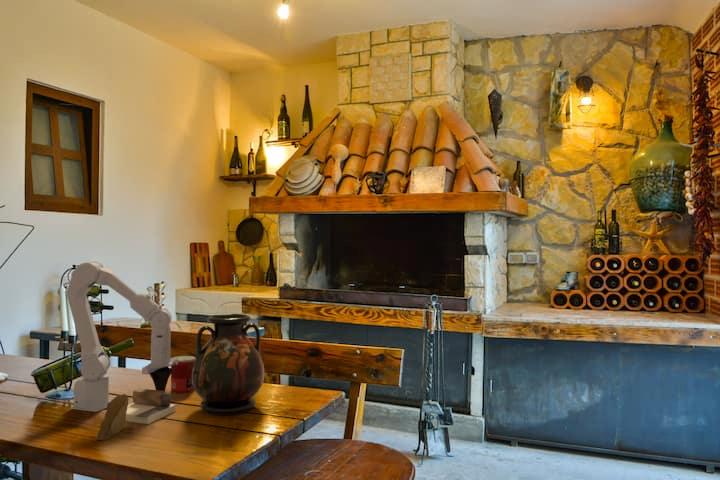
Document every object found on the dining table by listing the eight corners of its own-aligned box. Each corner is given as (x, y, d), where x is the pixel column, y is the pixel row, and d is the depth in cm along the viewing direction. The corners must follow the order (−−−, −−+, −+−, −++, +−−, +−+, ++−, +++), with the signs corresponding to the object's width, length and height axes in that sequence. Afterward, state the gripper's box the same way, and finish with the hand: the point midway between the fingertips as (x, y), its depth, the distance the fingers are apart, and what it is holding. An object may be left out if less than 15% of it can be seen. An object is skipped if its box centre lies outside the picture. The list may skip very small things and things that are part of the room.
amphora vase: (196, 423, 151) (197, 323, 151) (187, 402, 170) (188, 313, 171) (272, 414, 160) (272, 319, 160) (255, 395, 179) (255, 310, 179)
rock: (107, 435, 135) (141, 419, 143) (91, 405, 137) (126, 391, 145) (89, 453, 140) (123, 436, 148) (74, 424, 142) (108, 409, 150)
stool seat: (108, 419, 153) (108, 412, 154) (139, 406, 166) (139, 400, 166) (146, 424, 149) (146, 417, 149) (175, 411, 162) (175, 404, 162)
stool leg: (172, 403, 161) (172, 392, 161) (166, 406, 158) (166, 394, 158) (139, 399, 165) (139, 388, 165) (132, 402, 162) (132, 390, 162)
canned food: (191, 393, 180) (191, 360, 180) (167, 393, 180) (167, 360, 181) (198, 387, 188) (198, 355, 188) (175, 387, 188) (175, 355, 188)
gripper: (155, 354, 161) (155, 400, 160) (186, 345, 174) (185, 387, 174) (136, 352, 163) (136, 397, 163) (167, 343, 177) (167, 385, 176)
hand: (160, 392), depth 169 cm, fingers closed
